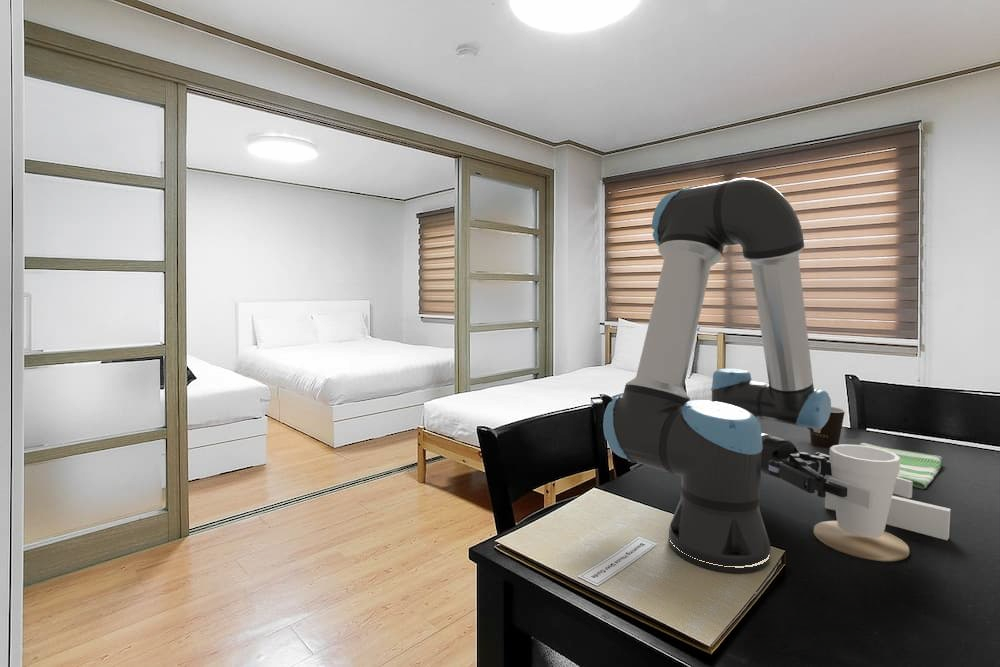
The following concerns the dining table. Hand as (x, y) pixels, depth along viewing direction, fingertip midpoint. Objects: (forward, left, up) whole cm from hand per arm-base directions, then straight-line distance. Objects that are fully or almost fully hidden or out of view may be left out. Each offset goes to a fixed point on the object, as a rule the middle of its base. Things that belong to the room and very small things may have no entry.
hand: (891, 494), depth 80 cm
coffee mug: (+63, +26, -10) cm, 68 cm away
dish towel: (+52, +9, -10) cm, 53 cm away
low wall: (+14, +3, -10) cm, 17 cm away
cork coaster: (+2, +4, -10) cm, 11 cm away
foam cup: (+2, +4, -8) cm, 9 cm away
